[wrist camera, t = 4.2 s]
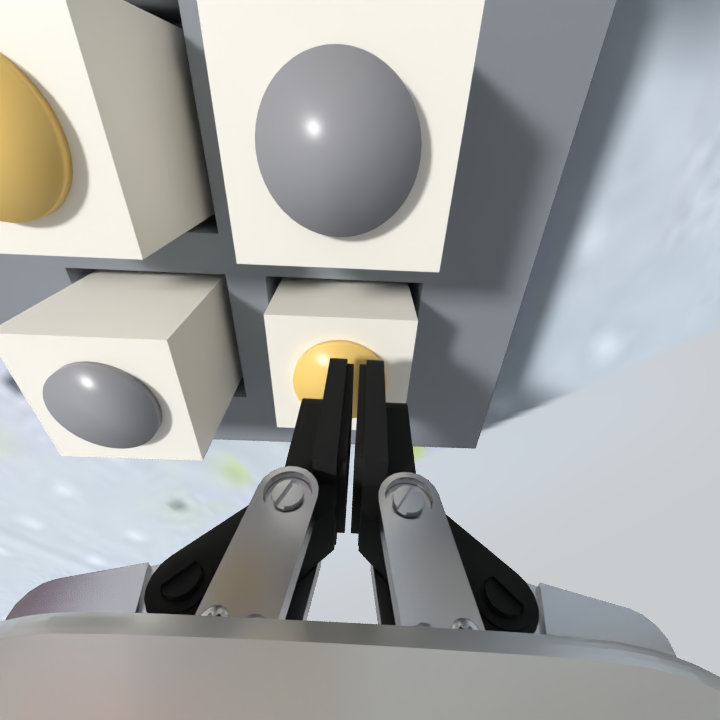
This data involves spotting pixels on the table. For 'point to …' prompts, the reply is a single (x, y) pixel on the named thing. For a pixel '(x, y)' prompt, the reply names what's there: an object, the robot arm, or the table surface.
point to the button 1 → (96, 131)
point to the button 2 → (128, 363)
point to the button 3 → (340, 126)
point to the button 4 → (337, 337)
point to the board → (463, 234)
